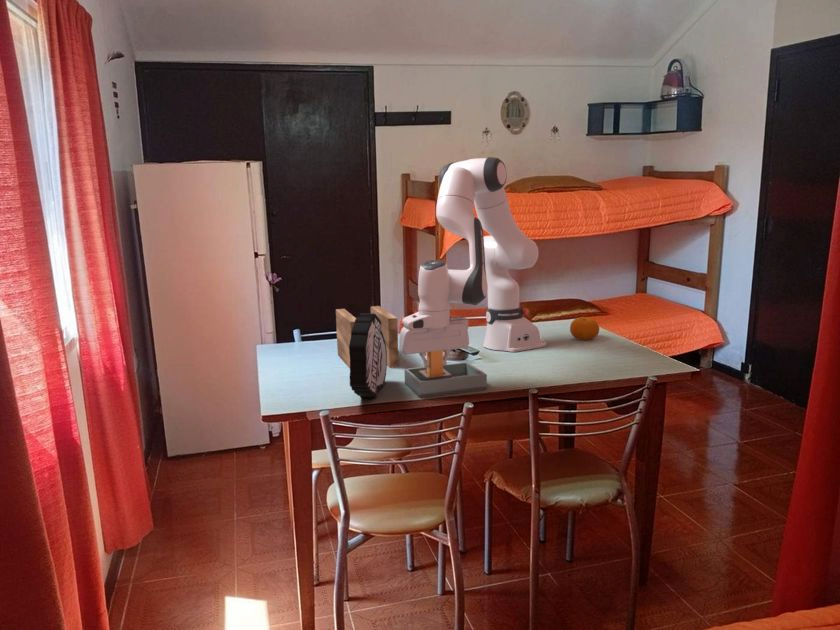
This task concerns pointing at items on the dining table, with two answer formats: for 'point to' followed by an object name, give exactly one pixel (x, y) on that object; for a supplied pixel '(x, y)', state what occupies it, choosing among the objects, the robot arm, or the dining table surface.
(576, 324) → the fruit
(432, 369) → the orange rectangular block
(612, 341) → the dining table surface
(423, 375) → the socket
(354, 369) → the wall sign
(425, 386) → the bin
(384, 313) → the bookends
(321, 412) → the dining table surface
